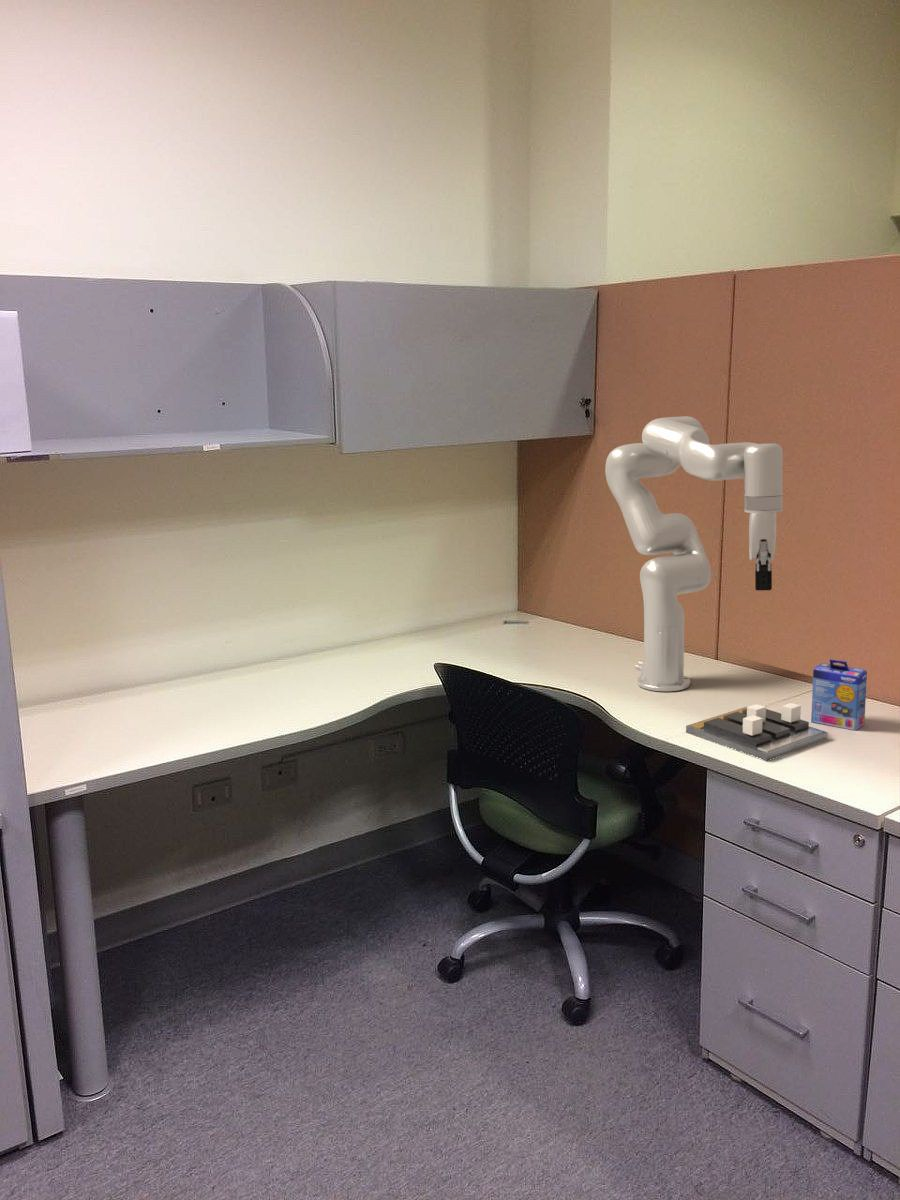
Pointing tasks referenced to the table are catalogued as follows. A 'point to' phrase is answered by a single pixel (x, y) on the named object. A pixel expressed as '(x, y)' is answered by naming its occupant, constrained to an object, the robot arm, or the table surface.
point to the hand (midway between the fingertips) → (763, 585)
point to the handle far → (791, 712)
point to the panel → (752, 749)
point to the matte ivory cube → (757, 711)
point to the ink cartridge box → (839, 695)
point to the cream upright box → (752, 725)
